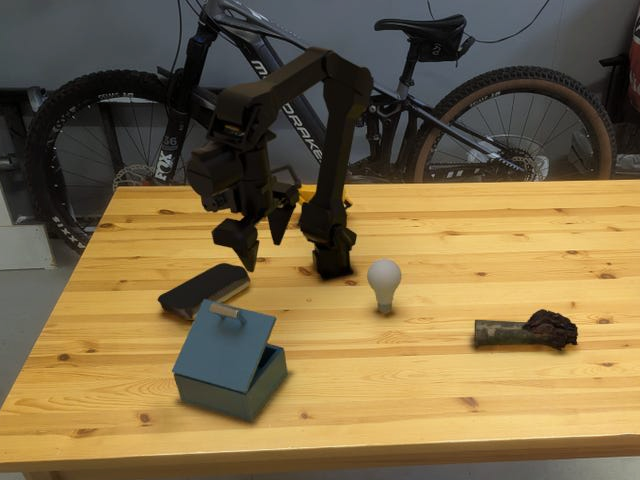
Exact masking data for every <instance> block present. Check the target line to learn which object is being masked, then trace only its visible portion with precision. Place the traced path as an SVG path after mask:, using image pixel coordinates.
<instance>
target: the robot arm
mask: <svg viewBox="0 0 640 480" xmlns="http://www.w3.org/2000/svg"><path fill="white" fill-rule="evenodd" d="M374 79H375V78H374V77H373V76H372V72H371V71H370V69H369V68H368V67H366V66H363V65H359V64H355V63H353V62H352V61H349V60H348V59H346V58H345V57H343V56H341V55H340V54H338V53H337V52H335V51H334V50H333V49H329V48H324V47H321V46H316V45H312V46H308V47H307V48H306V49H305V50H304V52H303V53H302V54H300V55H298V56H297V57H294V59H291V60H290V61H289V62H287V63H286V64H284V65H282V66H281V67H278V69H276V70H274V71H273V72H271V73H270V74H268V75H266V76H265V77H263V78H262V79H259V80H256V81H251V82H243V83H242V82H241V83H238V84H235V85H232V86H229V87H226V88H224V89H222V90H221V92H219V93H218V95H217V97H216V99H217V100H216V102H215V103H216V104H215V107H214V110H213V113H212V116H211V119H210V123H209V125H208V128H207V131H206V134H205V140H207V141H208V142H212V143H211V144H207V145H206V146H203V147H199V148H196V149H193V150H191V152H190V155H191V158H192V159H190V160H188V161H187V163H186V165H185V170H184V173H185V177H186V180H187V182H188V184H189V186H190V187H191V189H192V190H193V192H195V194H196V195H198V196H200V203H201V206H202V207H203V209H204V210H205V211H206V212H207V213H208V212H209V213H210V212H212V213H215V214H216V213H218V212H219V211H224V210H225V211H226V210H229V211H230V213H231V214H235V215H238V214H240V215H241V216H242V218H240V220H239V219H236V218H235V219H234V218H230V217H225V219H223V220H222V222H220V223H219V224H218V225H217V226H216V227H214V228H213V229H212V230H211V231H210V232H211V237H212V242H213V245H215V246H221V247H225V248H229V249H232V250H233V252H234V253H235V254H236V255H237V257H238V259H239V260H240V262H241V264H242V265H243V268H245V269H246V271H247V273H254V272H255V269H256V264H257V259H258V254H259V253H258V252H259V247H260V240H259V239H258V237H259V232H258V231H259V230H258V228H257V226H258V225H259V224H260V223H261V222H262V221H263V220H265V219H266V218H267V222H268V226H269V231H270V235H271V240H272V242H273V245H274V246H277V247H279V246H281V244H282V241H283V238H284V236H285V233H286V231H287V228H288V226H289V223H290V221H291V218H292V216H293V214H294V211H295V209H296V208H297V204H298V201H299V200H300V197H299V190H298V189H297V188H296V187H295V186H294V185H293V184H294V183H293V184H292V183H287V182H281V181H278V179H277V175H275V174H272V175H271V173H270V170H271V165H270V158H269V151H268V150H269V149H268V143H269V142H271V141H273V140H275V139H277V137H278V135H277V133H275V132H273V131H272V130H270V129H269V128H270V127H271V126H272V125H273V124H275V123H276V121H277V120H278V117H279V111H280V110H281V109H283V108H284V106H286V105H287V104H289V103H290V102H292V101H293V100H294V99H296V98H298V97H299V96H301V95H302V94H304V93H305V92H307V91H309V90H310V89H311V88H313V87H314V86H316V85H317V84H318V83H320V82H321V83H322V84H323V87H322V97H323V101H324V103H325V107H326V110H327V113H328V116H327V122H326V127H325V134H324V140H323V146H322V151H321V158H320V164H319V169H318V175H317V182H316V186H317V187H316V192H315V195H314V196H313V197H312V198H311V199H310V200H309V202H303V204H302V206H301V211H300V217H299V218H298V222H299V223H300V226H299V231H300V232H301V233H302V235H303V237H305V239H306V241H307V242H309V243H312V244H313V249H312V250H311V256H312V265H313V266H312V267H313V269H314V270H315V272H316V273H317V275H319V277H320V278H321V280H322V281H329V280H333V279H337V278H342V277H345V276H346V277H347V276H350V275H353V274H354V273H355V272H354V269H353V268H352V266H351V253H350V252H351V251H352V250H353V247H354V246H355V245H356V243H357V237H358V234H357V233H356V232H354V231H353V230H351V229H350V228H348V226H347V225H348V216H347V213H346V210H347V209H346V210H345V204H344V203H343V201H342V196H343V190H344V188H345V186H346V185H345V184H346V178H347V173H348V167H349V163H350V158H351V150H352V147H353V140H354V135H355V129H356V124H357V120H358V119H359V117H360V116H361V115H362V114H363V113H364V111H366V109H367V108H368V107H369V104H370V100H371V97H372V93H373V90H374V87H375V83H374V82H375V80H374ZM226 129H230V130H234V131H236V132H239V133H241V134H239V135H237V134H234V133H231V132H229V131H225V130H226ZM298 222H297V223H298Z"/></svg>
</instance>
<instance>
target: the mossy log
mask: <svg viewBox="0 0 640 480" xmlns="http://www.w3.org/2000/svg"><path fill="white" fill-rule="evenodd" d="M578 328H579V327H578V326H577V324H576V323H573V322H572V321H571V319H570V318H569V317H567V316H564V315H563V314H561V313H559V312H555V311H552V310H547V309H545V308H541V309H538V310H537V311H535V312H534V313H532V315H531V316H530V317H529V318H528V319H527V321H515V320H514V321H513V320H512V321H511V320H496V319H495V320H493V319H474V335H473V337H474V338H473V341H474V347H494V346H496V347H497V346H543V347H544V346H545V347H549V348H552V349H554V350H557V351H559V352H561V351H562V349H565V348H566V346H567V345H571V346H573V347H576V346H578V345H579V344H578V337H579V332H578V331H579V330H578Z"/></svg>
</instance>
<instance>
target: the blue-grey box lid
mask: <svg viewBox="0 0 640 480" xmlns="http://www.w3.org/2000/svg"><path fill="white" fill-rule="evenodd" d="M277 320H278V318H277V317H276V316H275V315H270V314H266V313H263V312H258V311H254V310H251V309H246V308H242V307H238V306H234V305H230V304H226V303H223V302H222V303H218V302H214V301H210V300H206V299H204V300H203V302H202V304H201V307H200V309H199V311H198V313H197V316H196V318H195V319H193V323H192V324H191V327H190V328H189V331H188V333H187V336H186V338H185V340H184V343H183V345H182V347H181V349H180V351H179V353H178V356H177V358H176V360H175V362H174V365H173V366H172V369H171V373H173V374H179V375H182V376H186V377H189V378H193V379H196V380H200V381H203V382H207V383H210V384H214V385H217V386H221V387H224V388H228V389H231V390H235V391H239V392H242V393H247V391H248V388H249V386H250V383H251V381H252V379H253V376H254V374H255V371H256V369H257V366H258V364H259V361H260V359H261V357H262V354H263V352H264V349H265V347H266V344H267V343H268V342H269V339H270V337H271V334H272V332H273V330H274V327H275V325H276V322H277Z"/></svg>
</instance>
